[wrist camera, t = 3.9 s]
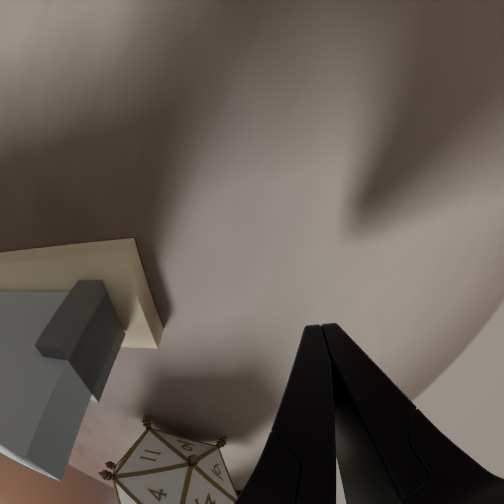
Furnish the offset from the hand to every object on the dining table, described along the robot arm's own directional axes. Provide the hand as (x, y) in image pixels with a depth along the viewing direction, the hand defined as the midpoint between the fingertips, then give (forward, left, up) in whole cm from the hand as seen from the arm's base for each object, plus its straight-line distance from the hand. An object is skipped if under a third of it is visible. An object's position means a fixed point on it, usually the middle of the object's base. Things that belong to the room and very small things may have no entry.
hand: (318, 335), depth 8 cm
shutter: (0, +12, -1) cm, 12 cm away
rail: (0, +18, -2) cm, 19 cm away
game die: (-12, +7, -3) cm, 14 cm away
